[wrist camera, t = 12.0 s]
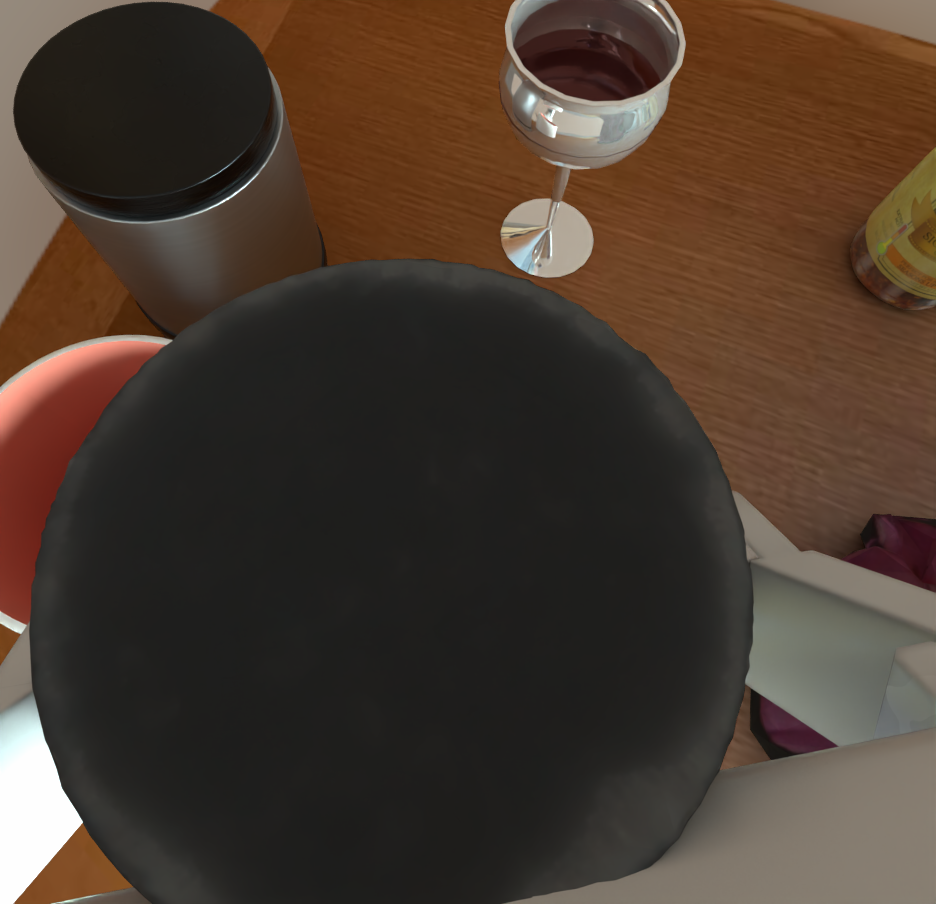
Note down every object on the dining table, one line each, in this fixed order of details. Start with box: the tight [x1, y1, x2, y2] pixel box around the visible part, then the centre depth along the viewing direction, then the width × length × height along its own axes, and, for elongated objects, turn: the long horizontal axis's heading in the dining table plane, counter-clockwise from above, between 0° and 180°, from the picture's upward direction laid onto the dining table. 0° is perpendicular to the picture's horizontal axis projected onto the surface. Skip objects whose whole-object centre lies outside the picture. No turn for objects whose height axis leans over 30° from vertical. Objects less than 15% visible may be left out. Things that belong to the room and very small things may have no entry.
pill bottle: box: [29, 259, 754, 904], centre depth 10 cm, size 6×6×11 cm
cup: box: [0, 335, 173, 634], centre depth 26 cm, size 10×10×10 cm
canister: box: [13, 2, 328, 340], centre depth 29 cm, size 9×9×12 cm
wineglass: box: [499, 0, 686, 278], centre depth 31 cm, size 7×7×12 cm
